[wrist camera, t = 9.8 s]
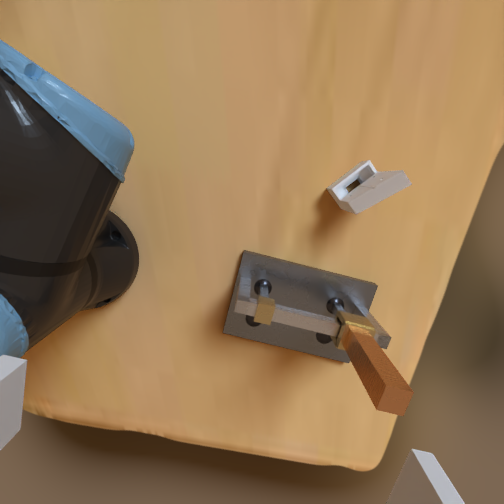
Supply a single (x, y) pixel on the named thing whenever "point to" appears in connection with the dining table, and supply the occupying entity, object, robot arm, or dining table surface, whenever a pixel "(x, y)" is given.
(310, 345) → the bolt plate
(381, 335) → the grey bracket frame
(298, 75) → the dining table surface
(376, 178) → the white wedge bracket
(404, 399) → the sliding leg
